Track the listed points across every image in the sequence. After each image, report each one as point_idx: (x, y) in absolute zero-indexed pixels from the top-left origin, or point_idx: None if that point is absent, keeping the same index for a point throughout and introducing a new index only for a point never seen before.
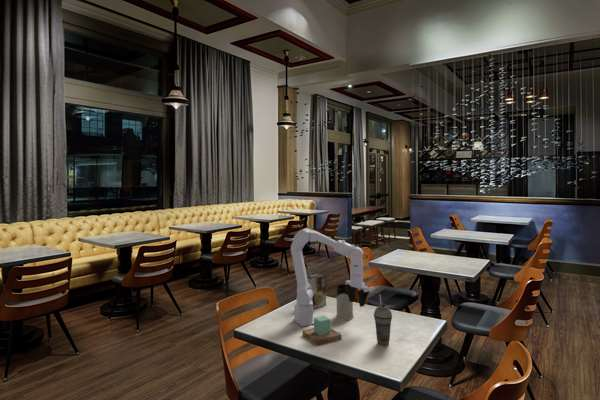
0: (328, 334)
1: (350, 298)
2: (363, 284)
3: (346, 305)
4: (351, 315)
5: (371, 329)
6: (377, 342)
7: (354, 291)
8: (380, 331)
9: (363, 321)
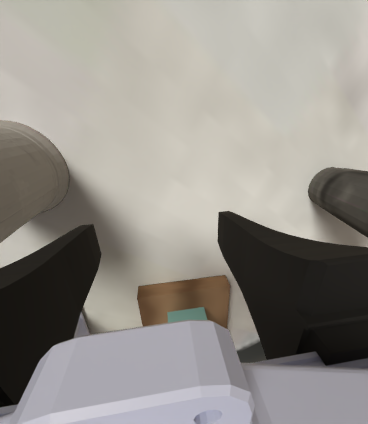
0: (208, 313)
1: (90, 273)
2: None
3: (20, 211)
4: (46, 156)
5: (212, 145)
6: (314, 201)
7: (43, 278)
8: None
9: (111, 118)
